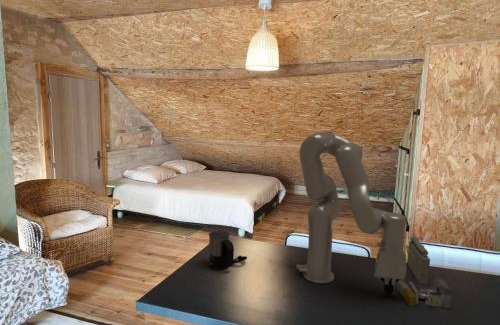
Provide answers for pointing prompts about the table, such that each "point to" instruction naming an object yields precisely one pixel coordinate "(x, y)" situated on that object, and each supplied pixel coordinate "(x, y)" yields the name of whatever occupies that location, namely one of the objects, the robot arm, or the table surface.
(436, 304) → the grey u-shaped bracket
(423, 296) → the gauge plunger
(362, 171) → the robot arm
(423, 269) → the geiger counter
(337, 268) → the table surface
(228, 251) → the milk frother
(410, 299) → the medication box
